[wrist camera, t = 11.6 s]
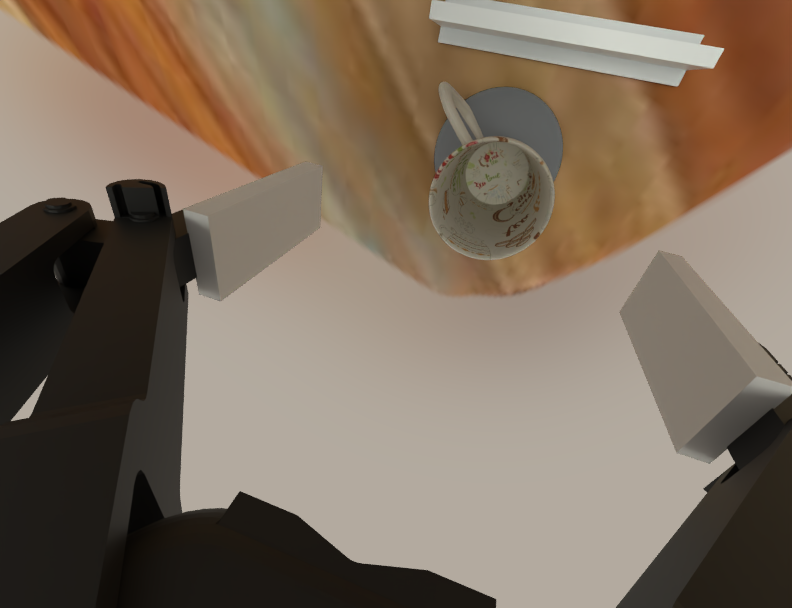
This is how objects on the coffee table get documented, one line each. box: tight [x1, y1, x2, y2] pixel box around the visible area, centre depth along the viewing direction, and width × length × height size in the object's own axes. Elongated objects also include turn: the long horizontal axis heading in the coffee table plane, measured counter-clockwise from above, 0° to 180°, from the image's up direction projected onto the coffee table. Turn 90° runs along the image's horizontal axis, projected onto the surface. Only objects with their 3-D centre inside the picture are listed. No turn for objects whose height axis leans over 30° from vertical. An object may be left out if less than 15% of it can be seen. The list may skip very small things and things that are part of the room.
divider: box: [429, 0, 724, 86], centre depth 25 cm, size 3×18×5 cm, turn 80°
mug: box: [429, 82, 555, 260], centre depth 28 cm, size 8×13×10 cm, turn 35°
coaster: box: [434, 87, 563, 182], centre depth 32 cm, size 11×11×1 cm
